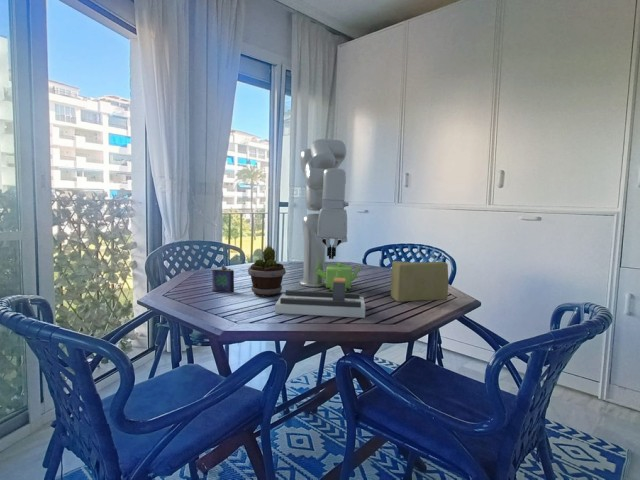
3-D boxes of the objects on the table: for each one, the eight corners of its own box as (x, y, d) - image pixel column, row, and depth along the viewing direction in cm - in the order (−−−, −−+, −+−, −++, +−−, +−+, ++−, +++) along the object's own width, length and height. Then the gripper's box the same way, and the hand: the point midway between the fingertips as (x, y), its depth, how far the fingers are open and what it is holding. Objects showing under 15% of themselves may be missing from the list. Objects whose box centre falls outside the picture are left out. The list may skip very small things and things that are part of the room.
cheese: (441, 296, 159) (443, 260, 158) (452, 302, 150) (454, 264, 148) (389, 296, 156) (391, 259, 155) (397, 302, 147) (399, 263, 145)
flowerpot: (279, 300, 145) (280, 247, 143) (241, 296, 148) (241, 245, 146) (290, 291, 159) (291, 243, 157) (255, 288, 162) (255, 241, 160)
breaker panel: (282, 301, 144) (282, 289, 143) (363, 305, 142) (363, 292, 141) (275, 313, 129) (275, 299, 128) (365, 317, 127) (365, 304, 126)
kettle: (362, 289, 166) (363, 264, 164) (339, 295, 156) (340, 267, 154) (337, 283, 176) (338, 259, 175) (314, 287, 166) (315, 262, 165)
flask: (210, 291, 155) (211, 264, 154) (214, 289, 158) (214, 263, 157) (232, 292, 154) (232, 266, 152) (235, 291, 157) (235, 265, 155)
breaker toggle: (333, 298, 137) (333, 277, 136) (344, 298, 137) (345, 278, 136) (332, 302, 132) (333, 280, 131) (344, 302, 132) (345, 281, 131)
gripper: (355, 205, 134) (352, 257, 137) (312, 204, 135) (310, 255, 138) (355, 206, 127) (353, 261, 129) (310, 204, 128) (308, 259, 130)
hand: (331, 258), depth 133 cm, fingers closed
